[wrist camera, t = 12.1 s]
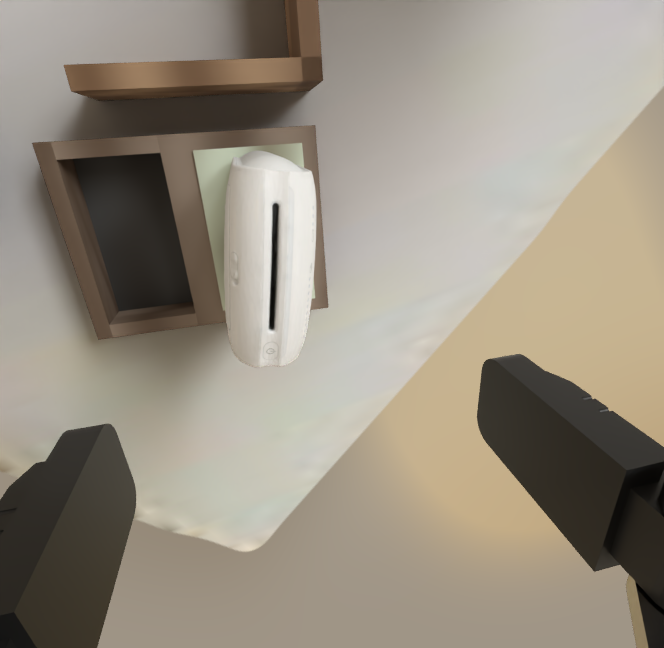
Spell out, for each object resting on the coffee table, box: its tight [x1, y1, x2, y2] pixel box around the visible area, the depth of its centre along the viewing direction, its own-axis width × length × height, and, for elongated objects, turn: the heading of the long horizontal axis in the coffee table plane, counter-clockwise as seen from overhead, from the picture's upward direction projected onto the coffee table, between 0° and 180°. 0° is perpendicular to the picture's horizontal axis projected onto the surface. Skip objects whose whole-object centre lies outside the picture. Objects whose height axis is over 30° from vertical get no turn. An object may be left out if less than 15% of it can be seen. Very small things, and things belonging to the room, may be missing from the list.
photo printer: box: [224, 151, 316, 367], centre depth 23 cm, size 10×4×12 cm, turn 175°
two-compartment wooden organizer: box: [32, 125, 328, 340], centre depth 29 cm, size 17×13×3 cm
